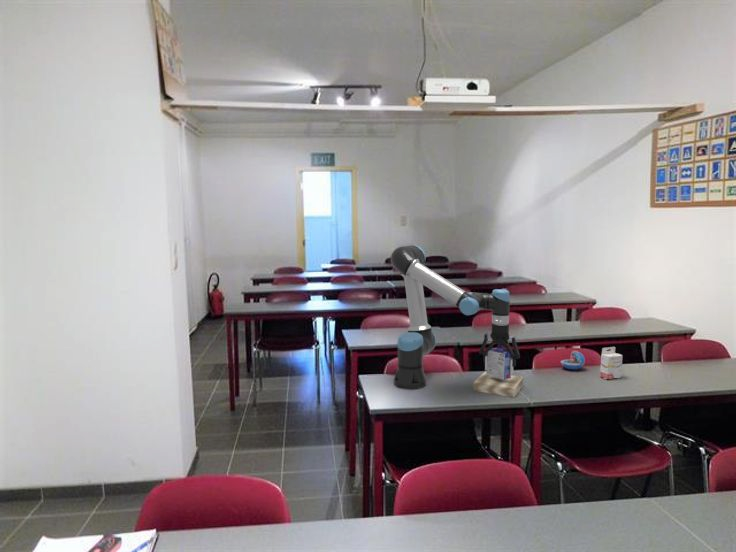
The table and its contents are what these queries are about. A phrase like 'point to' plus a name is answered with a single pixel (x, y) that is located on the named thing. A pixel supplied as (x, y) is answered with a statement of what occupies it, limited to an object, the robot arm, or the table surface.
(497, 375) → the ink cartridge box
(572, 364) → the cell model
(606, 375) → the ink cartridge box
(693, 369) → the table surface
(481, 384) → the birch base
